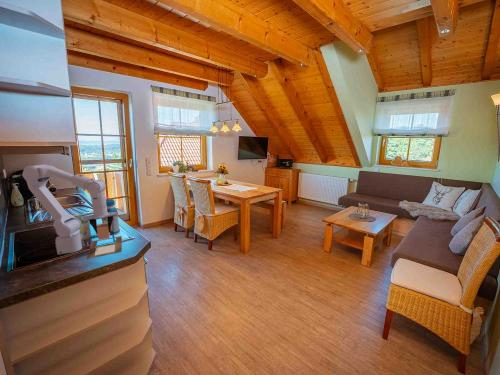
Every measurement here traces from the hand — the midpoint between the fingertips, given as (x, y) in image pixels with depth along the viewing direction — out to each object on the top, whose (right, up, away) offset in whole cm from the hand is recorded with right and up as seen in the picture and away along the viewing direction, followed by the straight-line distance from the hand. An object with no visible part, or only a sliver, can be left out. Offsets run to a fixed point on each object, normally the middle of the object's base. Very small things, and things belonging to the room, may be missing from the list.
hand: (103, 232), depth 116 cm
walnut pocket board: (-1, -9, +3) cm, 9 cm away
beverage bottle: (-9, -5, +23) cm, 25 cm away
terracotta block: (0, -2, +1) cm, 2 cm away
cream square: (+2, -8, -1) cm, 8 cm away
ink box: (-20, -7, +14) cm, 25 cm away
